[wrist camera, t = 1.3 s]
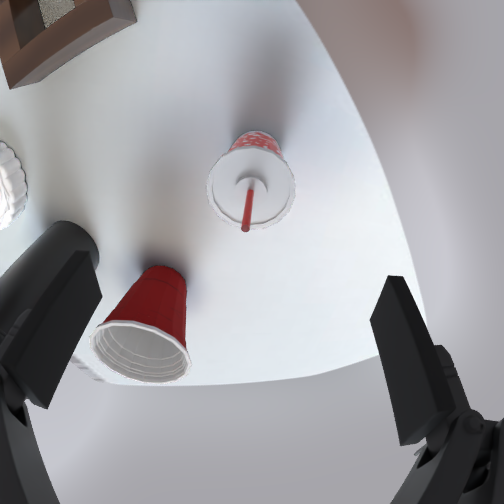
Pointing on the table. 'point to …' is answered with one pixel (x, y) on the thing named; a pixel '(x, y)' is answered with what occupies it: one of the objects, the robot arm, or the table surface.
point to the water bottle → (39, 270)
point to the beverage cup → (251, 183)
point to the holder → (54, 35)
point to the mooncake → (11, 187)
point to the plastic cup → (147, 330)
